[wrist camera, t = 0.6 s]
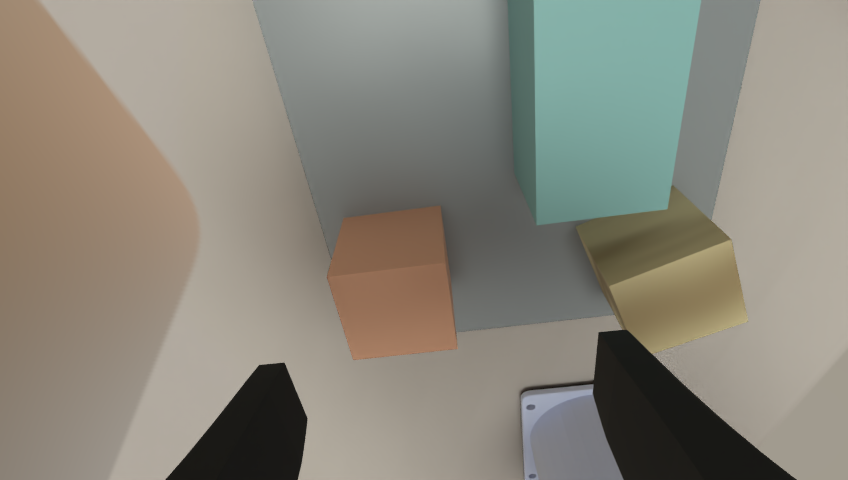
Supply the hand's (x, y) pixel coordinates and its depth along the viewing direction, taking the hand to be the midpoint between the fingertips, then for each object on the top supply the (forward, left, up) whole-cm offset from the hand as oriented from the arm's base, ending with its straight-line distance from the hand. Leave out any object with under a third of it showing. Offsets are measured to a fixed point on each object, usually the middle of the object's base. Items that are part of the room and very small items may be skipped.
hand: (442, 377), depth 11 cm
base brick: (+5, -5, -9) cm, 11 cm away
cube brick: (-2, +2, -9) cm, 10 cm away
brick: (-3, -8, -9) cm, 13 cm away
